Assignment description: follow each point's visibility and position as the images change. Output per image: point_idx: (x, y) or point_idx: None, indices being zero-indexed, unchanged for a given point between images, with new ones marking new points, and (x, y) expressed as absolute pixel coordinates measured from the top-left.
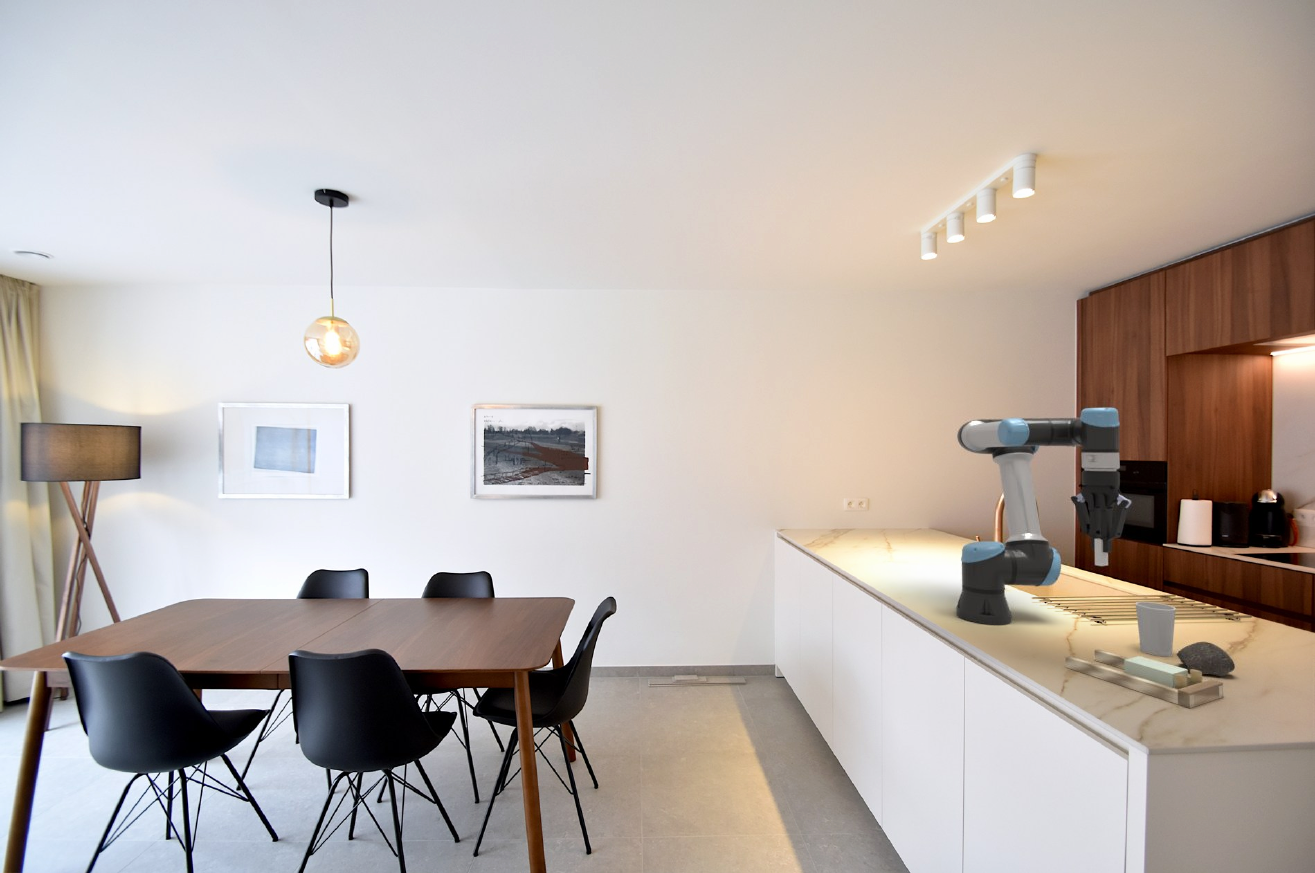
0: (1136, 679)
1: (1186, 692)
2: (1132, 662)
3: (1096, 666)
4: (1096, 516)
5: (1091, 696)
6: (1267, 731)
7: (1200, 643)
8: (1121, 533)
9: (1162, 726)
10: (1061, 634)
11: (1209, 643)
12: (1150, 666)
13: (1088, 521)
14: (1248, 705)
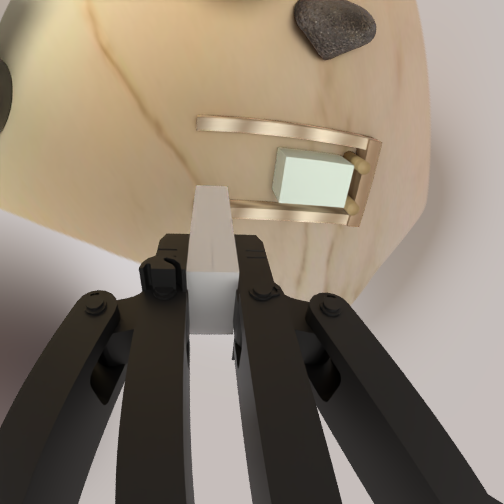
0: (300, 221)
1: (356, 226)
2: (291, 203)
3: (243, 217)
4: (191, 491)
5: None
6: (406, 216)
7: (349, 30)
8: (359, 317)
9: (338, 287)
10: (85, 36)
11: (363, 29)
12: (315, 199)
13: (79, 405)
14: (393, 146)
